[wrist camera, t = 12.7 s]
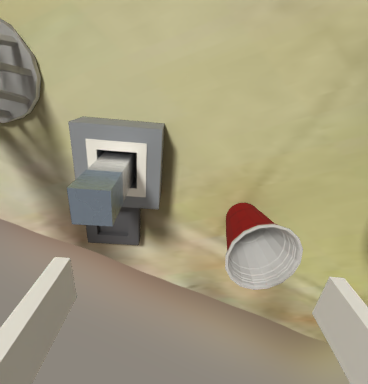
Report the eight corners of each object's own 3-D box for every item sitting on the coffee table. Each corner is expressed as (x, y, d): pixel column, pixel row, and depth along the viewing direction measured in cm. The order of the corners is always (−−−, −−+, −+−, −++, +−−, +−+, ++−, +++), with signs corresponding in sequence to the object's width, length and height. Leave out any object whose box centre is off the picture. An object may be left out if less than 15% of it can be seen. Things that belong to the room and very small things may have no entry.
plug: (110, 147, 35) (66, 187, 21) (136, 149, 35) (110, 190, 21) (111, 171, 36) (72, 224, 23) (136, 173, 37) (112, 226, 23)
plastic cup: (284, 205, 41) (322, 249, 30) (247, 247, 45) (269, 299, 34) (236, 177, 38) (259, 214, 28) (201, 224, 42) (209, 272, 31)
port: (83, 116, 34) (67, 121, 29) (164, 123, 34) (162, 130, 30) (90, 190, 39) (77, 205, 34) (160, 194, 39) (158, 210, 35)
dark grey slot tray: (87, 192, 39) (83, 197, 37) (140, 196, 39) (138, 201, 38) (91, 235, 43) (87, 242, 41) (140, 238, 43) (138, 245, 41)
